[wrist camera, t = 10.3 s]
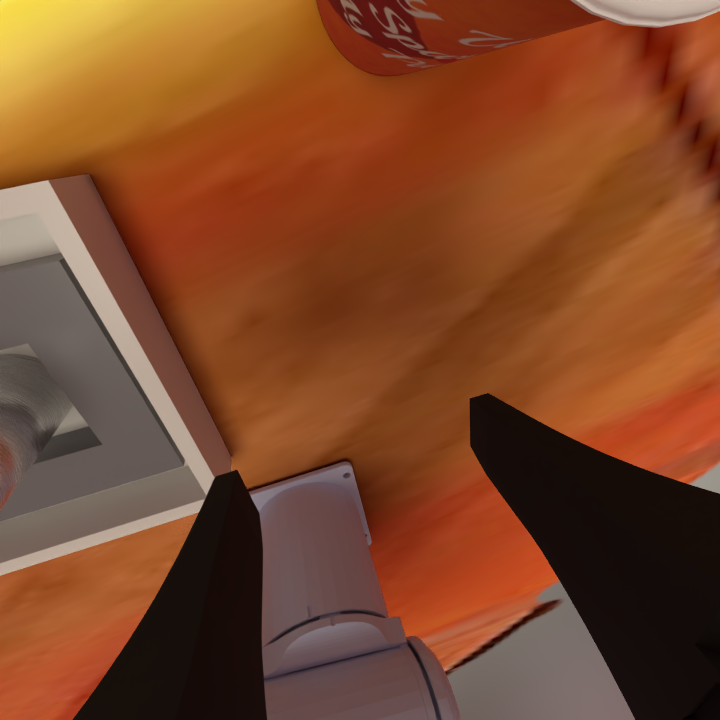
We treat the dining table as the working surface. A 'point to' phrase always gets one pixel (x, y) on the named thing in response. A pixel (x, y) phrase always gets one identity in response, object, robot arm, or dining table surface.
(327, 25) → the paper cup
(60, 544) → the box
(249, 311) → the dining table surface
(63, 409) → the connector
